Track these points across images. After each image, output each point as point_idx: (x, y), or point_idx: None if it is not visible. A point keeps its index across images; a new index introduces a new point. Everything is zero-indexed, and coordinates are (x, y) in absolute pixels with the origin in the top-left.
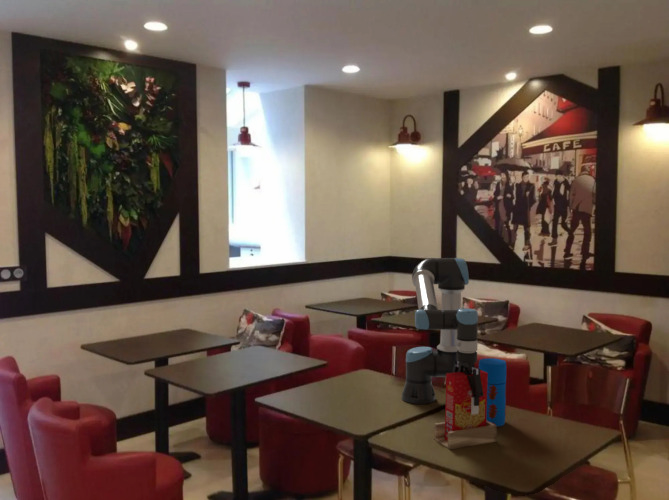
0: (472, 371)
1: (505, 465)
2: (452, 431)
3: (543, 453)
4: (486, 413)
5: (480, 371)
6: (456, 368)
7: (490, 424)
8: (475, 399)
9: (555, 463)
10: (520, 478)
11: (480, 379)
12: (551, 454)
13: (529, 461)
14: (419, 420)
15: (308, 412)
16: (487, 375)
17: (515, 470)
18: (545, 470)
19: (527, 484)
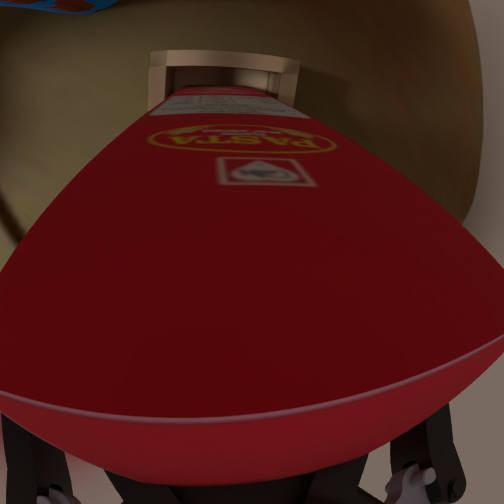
0: (354, 500)
1: (410, 180)
2: None
3: (422, 32)
4: (267, 95)
5: (303, 448)
6: (62, 475)
7: (265, 70)
8: None
9: (464, 73)
10: (451, 201)
11: (446, 405)
12: (434, 24)
13: (432, 110)
14: (18, 210)
15: None
16: (491, 265)
17: (434, 182)
18: (468, 127)
19: (464, 209)
